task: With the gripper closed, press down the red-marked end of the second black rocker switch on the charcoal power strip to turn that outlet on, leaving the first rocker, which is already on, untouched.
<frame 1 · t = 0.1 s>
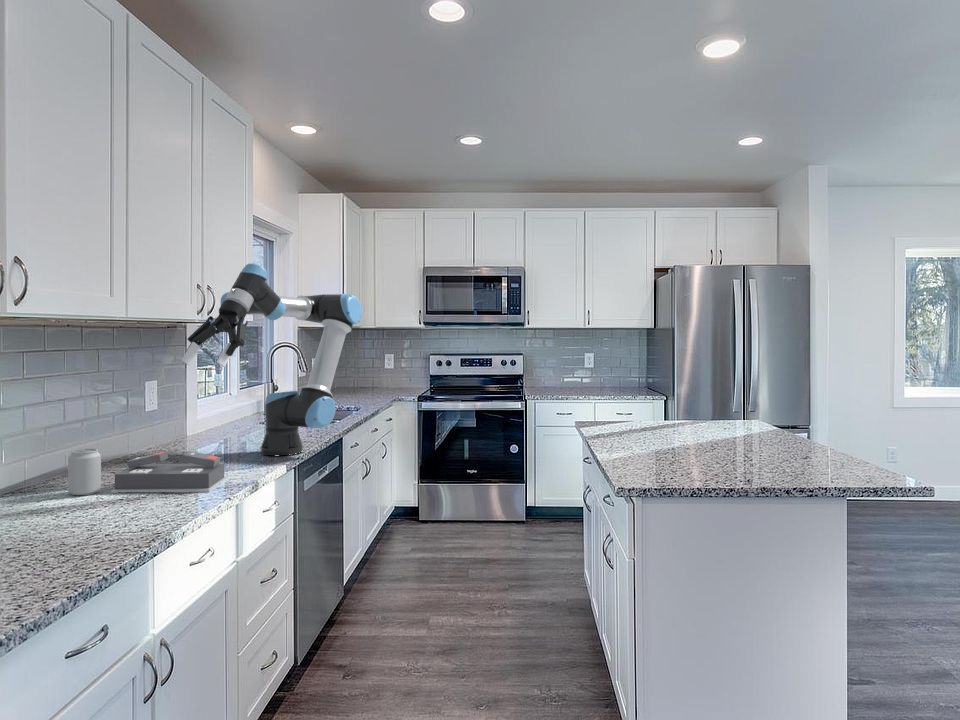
hand: (202, 363, 166), 36 cm above the table, tool tilted 35°, fingers open, 13 cm apart
can: (85, 493, 158), on the table
rocker a: (201, 459, 170), point 7 cm above the table, hinge at 12.0°
power strip: (172, 485, 167), on the table
rocker b: (148, 459, 168), point 7 cm above the table, hinge at -12.0°
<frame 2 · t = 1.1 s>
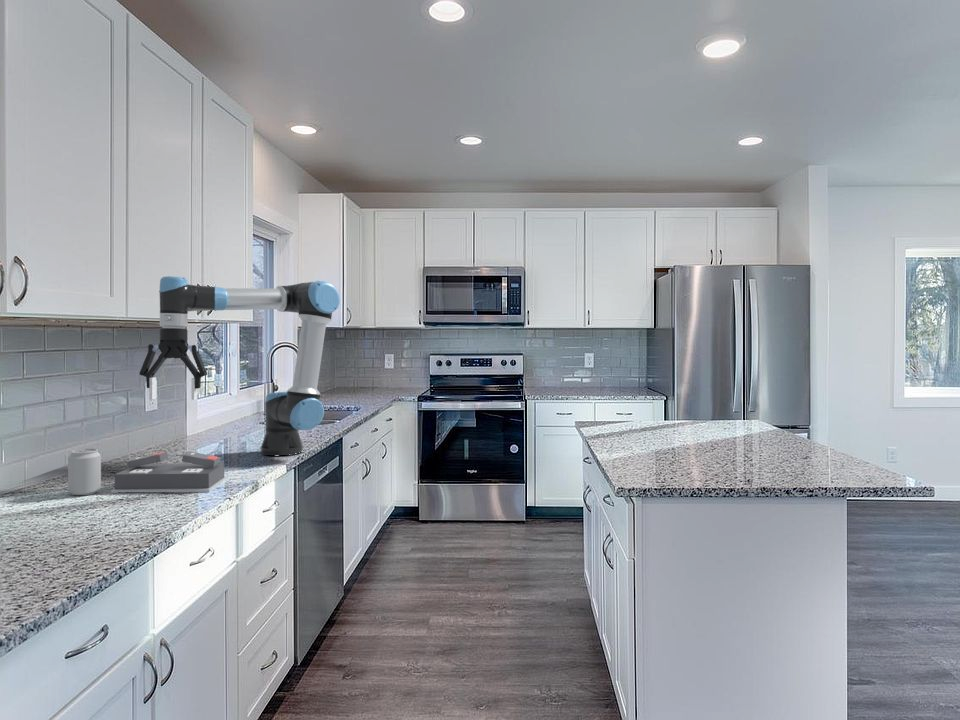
hand: (173, 399, 176), 24 cm above the table, tool pointing down, fingers open, 11 cm apart
nothing on the table moved.
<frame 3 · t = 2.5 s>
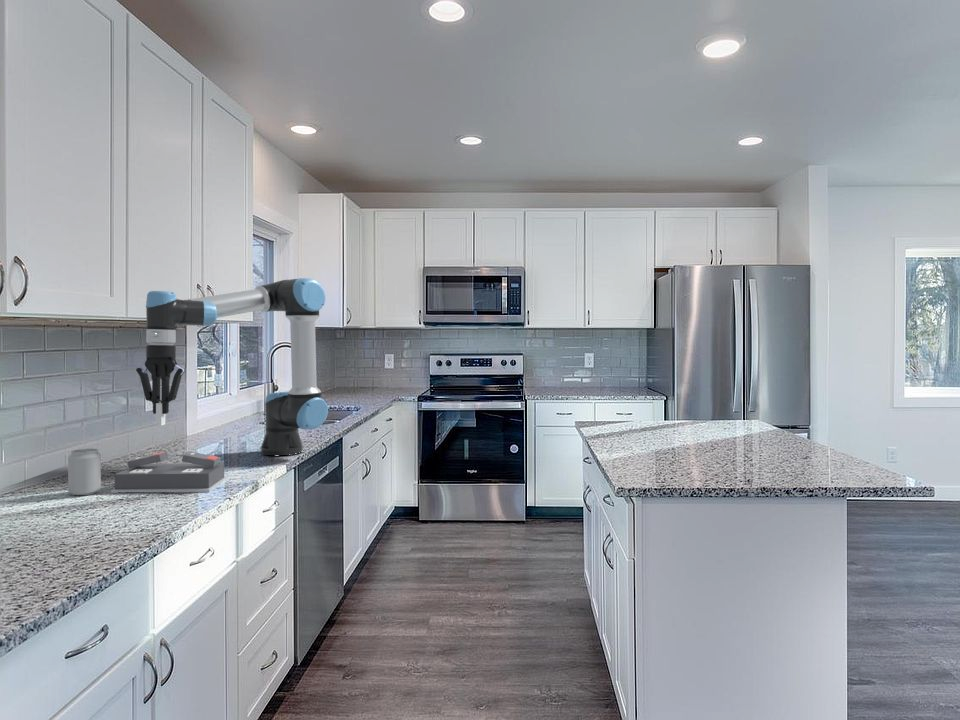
hand: (160, 424, 168), 18 cm above the table, tool pointing down, fingers closed
nothing on the table moved.
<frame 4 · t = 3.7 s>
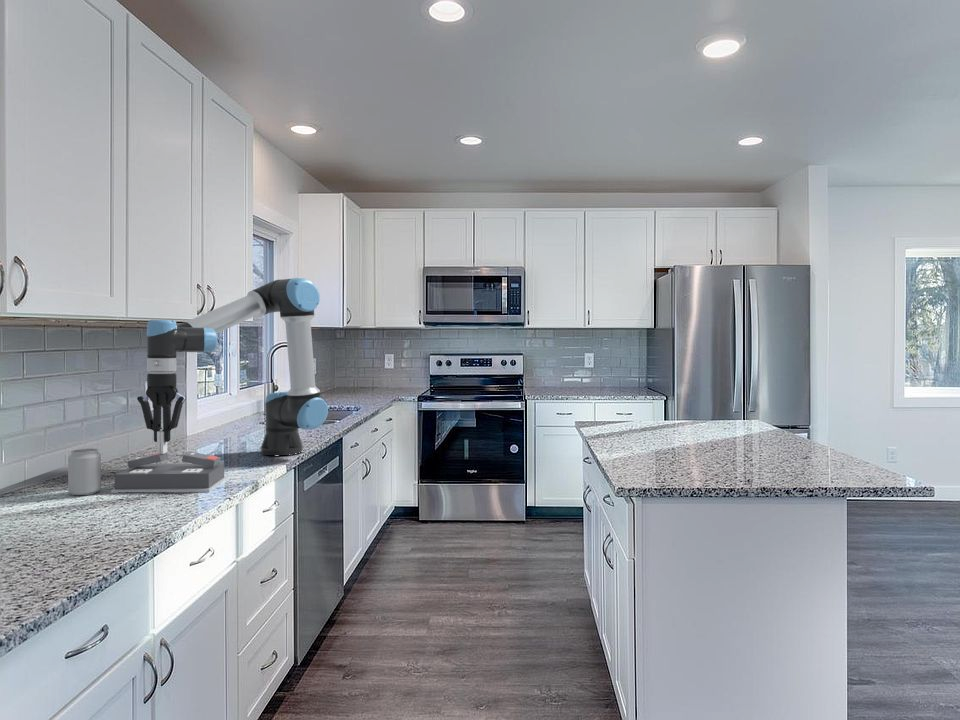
hand: (162, 452, 168), 9 cm above the table, tool pointing down, fingers closed
rocker b: (148, 459, 168), point 7 cm above the table, hinge at -11.6°, touching gripper
everything else where it was.
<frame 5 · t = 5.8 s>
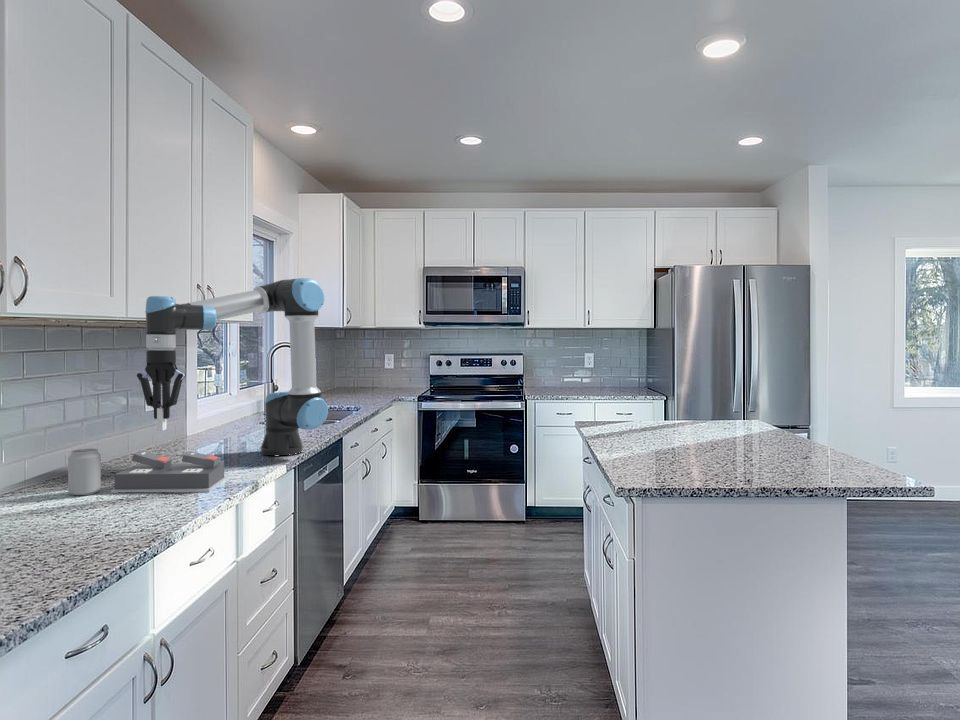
hand: (161, 429, 168), 16 cm above the table, tool pointing down, fingers closed
rocker b: (152, 459, 168), point 7 cm above the table, hinge at 17.2°, touching power strip
everything else where it was.
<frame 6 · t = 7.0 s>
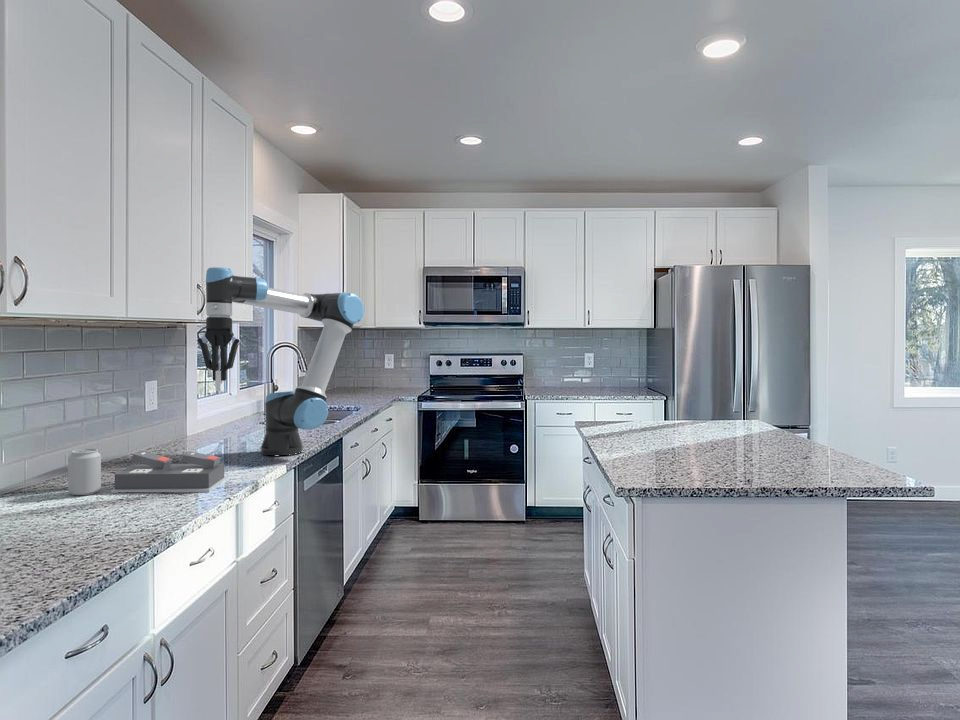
hand: (219, 390, 183), 26 cm above the table, tool pointing down, fingers closed
rocker b: (152, 459, 168), point 7 cm above the table, hinge at 16.4°, touching power strip
everything else where it was.
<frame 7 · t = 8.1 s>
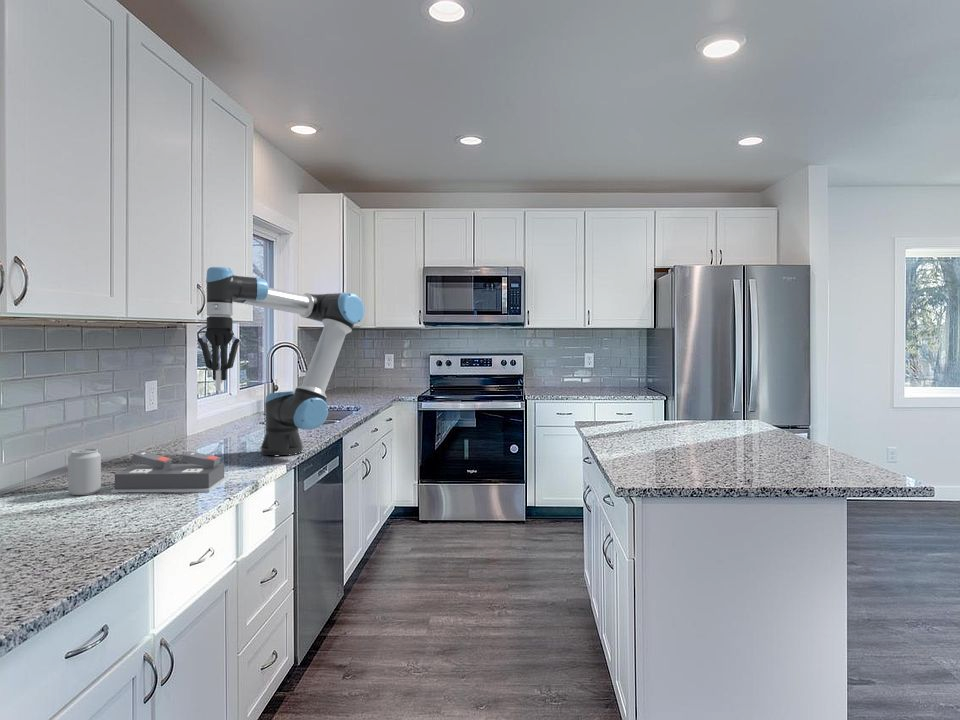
hand: (219, 390, 183), 26 cm above the table, tool pointing down, fingers closed
nothing on the table moved.
at the end: rocker b at +16° (first picture: -12°); rocker a at +12° (first picture: +12°); can moved 0.2 cm from its start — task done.
